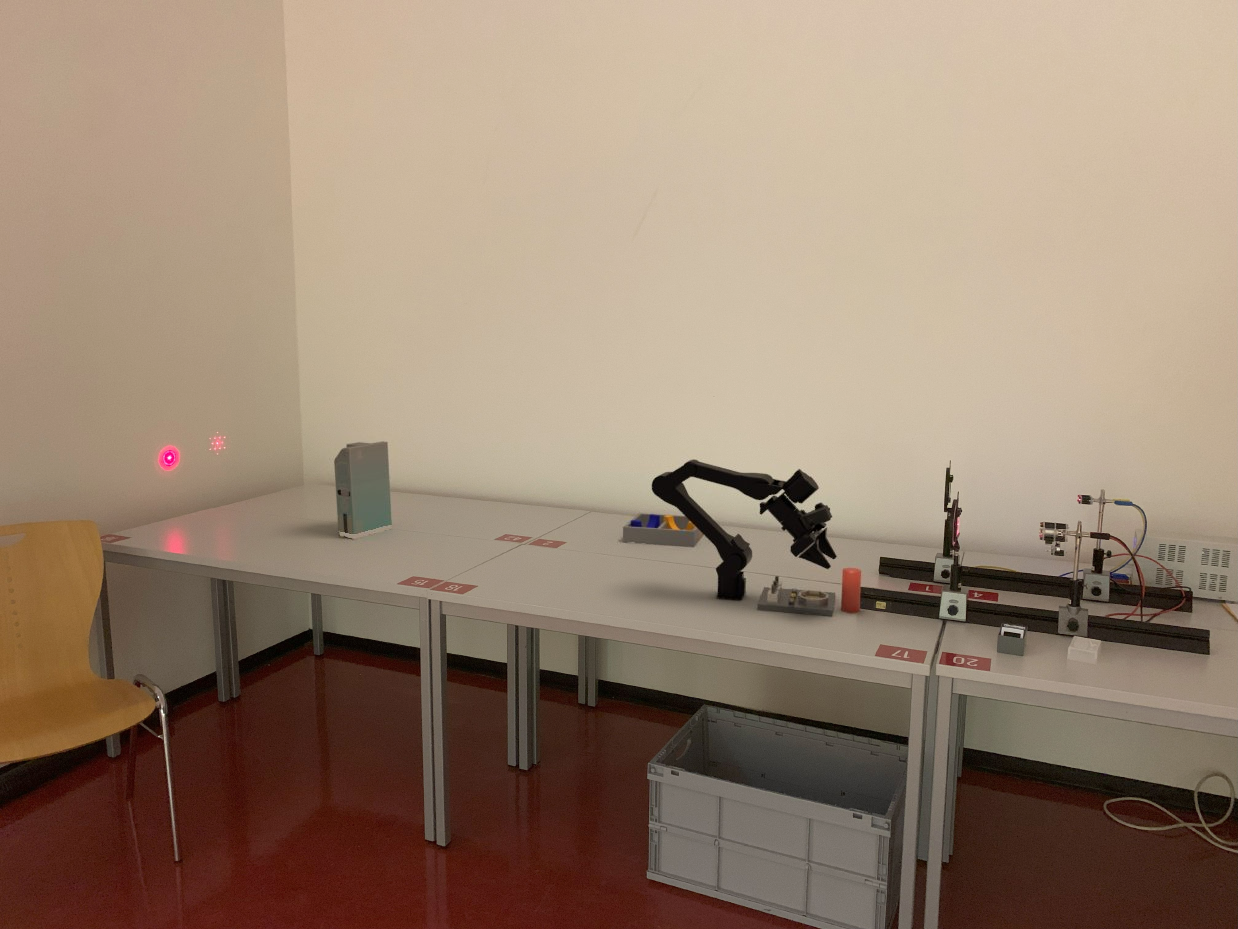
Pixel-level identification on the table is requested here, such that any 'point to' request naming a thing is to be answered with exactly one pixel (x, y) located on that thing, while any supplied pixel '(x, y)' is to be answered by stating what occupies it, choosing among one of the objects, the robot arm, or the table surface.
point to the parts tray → (662, 532)
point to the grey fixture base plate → (796, 600)
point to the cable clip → (653, 522)
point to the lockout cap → (851, 590)
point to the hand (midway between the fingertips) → (832, 562)
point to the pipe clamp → (671, 525)
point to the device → (362, 487)
